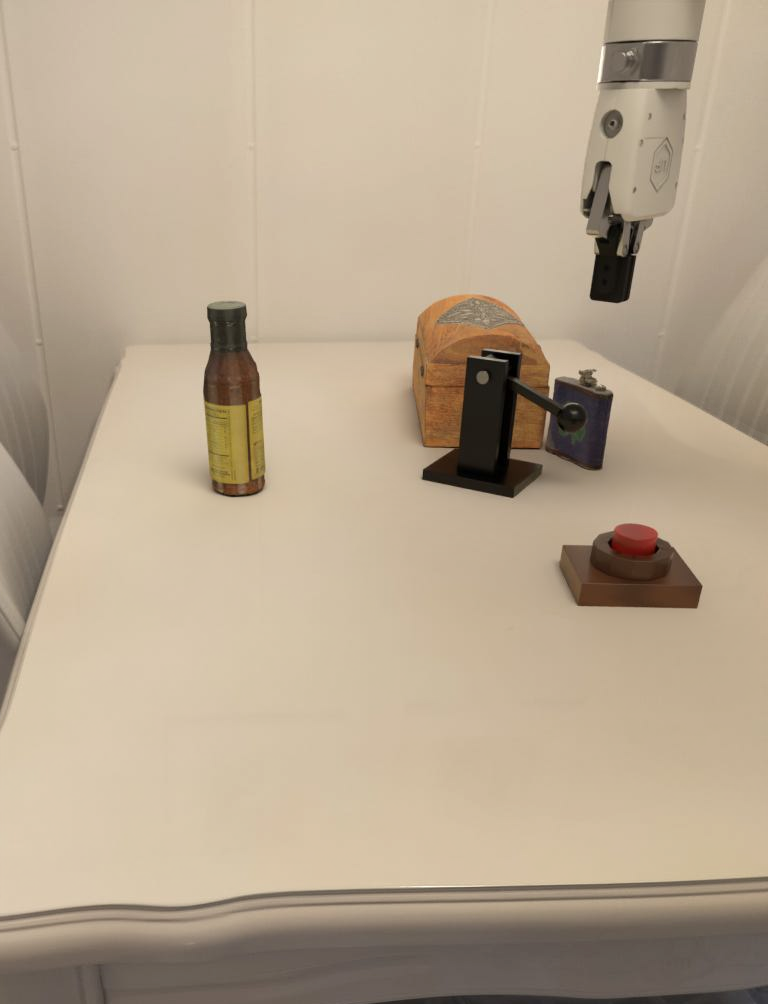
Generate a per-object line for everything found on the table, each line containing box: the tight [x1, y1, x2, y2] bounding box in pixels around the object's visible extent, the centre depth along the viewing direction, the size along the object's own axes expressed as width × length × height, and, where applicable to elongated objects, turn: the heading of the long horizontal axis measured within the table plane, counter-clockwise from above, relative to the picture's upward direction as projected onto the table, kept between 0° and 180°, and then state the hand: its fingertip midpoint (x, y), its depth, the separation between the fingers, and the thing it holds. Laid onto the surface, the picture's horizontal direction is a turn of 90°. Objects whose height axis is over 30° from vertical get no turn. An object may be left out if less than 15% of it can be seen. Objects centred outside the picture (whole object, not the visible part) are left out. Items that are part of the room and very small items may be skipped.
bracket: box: [421, 349, 543, 499], centre depth 103 cm, size 11×9×14 cm
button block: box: [558, 530, 703, 609], centre depth 80 cm, size 10×8×4 cm
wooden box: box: [412, 294, 551, 449], centre depth 124 cm, size 30×16×14 cm, turn 175°
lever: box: [486, 354, 588, 434], centre depth 99 cm, size 13×3×3 cm, turn 57°
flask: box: [545, 368, 614, 471], centre depth 109 cm, size 9×3×11 cm, turn 24°
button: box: [611, 522, 659, 556], centre depth 79 cm, size 4×4×2 cm
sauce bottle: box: [202, 300, 266, 496], centre depth 98 cm, size 7×6×20 cm
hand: (608, 300), depth 86 cm, fingers closed
